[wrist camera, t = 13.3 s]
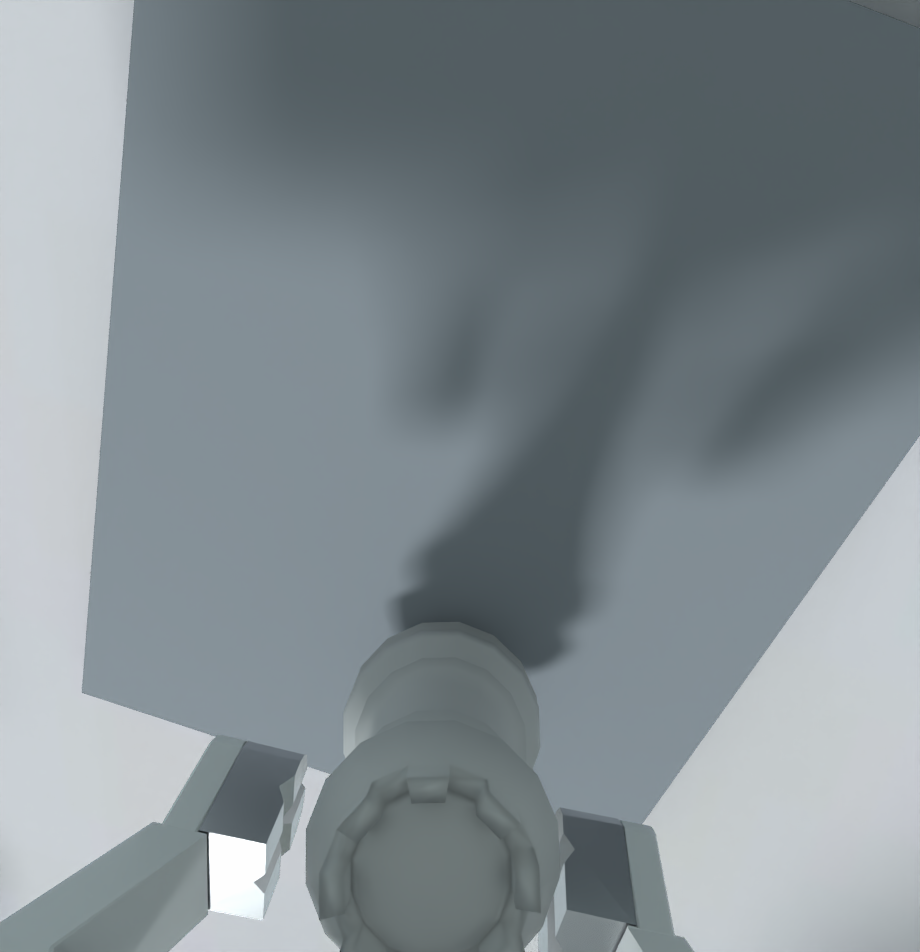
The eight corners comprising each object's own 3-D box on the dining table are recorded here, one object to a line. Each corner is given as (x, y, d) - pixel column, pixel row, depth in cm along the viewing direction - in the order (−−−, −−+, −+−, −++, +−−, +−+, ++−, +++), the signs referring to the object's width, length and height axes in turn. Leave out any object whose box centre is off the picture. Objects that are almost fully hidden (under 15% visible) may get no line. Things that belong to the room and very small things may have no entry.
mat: (608, 840, 19) (612, 866, 18) (99, 672, 19) (81, 692, 18) (1106, 120, 10) (1148, 116, 10) (182, -236, 10) (154, -269, 9)
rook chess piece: (418, 853, 15) (376, 1209, 7) (312, 690, 15) (153, 843, 7) (574, 737, 15) (709, 943, 7) (465, 581, 15) (477, 609, 7)
